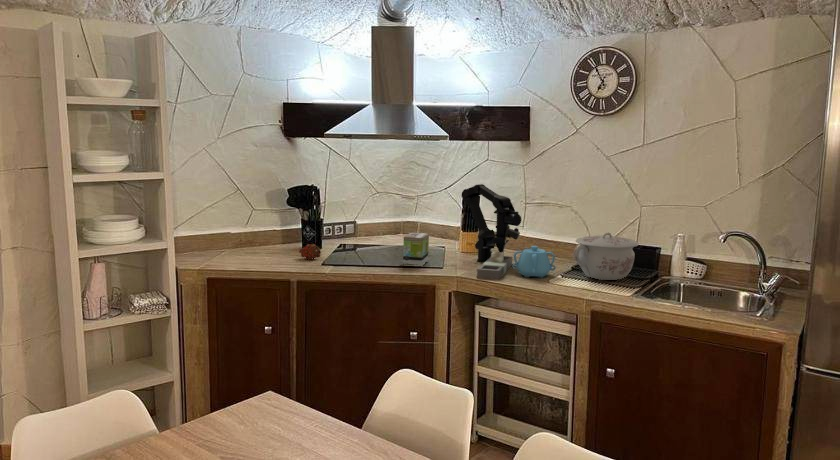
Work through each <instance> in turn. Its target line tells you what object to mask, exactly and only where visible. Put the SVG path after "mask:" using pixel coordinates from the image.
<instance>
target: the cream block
mask: <svg viewBox="0 0 840 460" xmlns="http://www.w3.org/2000/svg"><path fill="white" fill-rule="evenodd" d="M504 253H505V252H499V251H492V253H491V262H502V261H503V260H504V256H505V255H504Z"/></svg>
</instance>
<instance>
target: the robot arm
mask: <svg viewBox="0 0 840 460" xmlns="http://www.w3.org/2000/svg"><path fill="white" fill-rule="evenodd" d="M480 196H482V197H484V198H485V199H487V201H490V202H491V203H492V206H493V207H494V208H495V210H494V211H493V214H495V215H496V225H495V229H496V230H493V229H490V228H489V226H488V224H487V221H486V219H485V217H484V213H483V212H482V209H481V206H480V204H479V201H480ZM461 198H462V200H463V201H464V203H465V204H466V205H467V206H468V207H469V210H470V212H471V214H472V218H473V220H474V222H475V226H476V228H477V231H478V235H477V242H476V243H474V248H475V250H477V260H476V262H483V263H485V262H486V261H487V260H488V259H489V258H490V257H491V253H492V252H493V251H492V250H493V249H495V246H496V247H497V250H498V252H504V251H505V248H506V245H507V244H508V242H509V241H510V240H509V239H511V238H513V239H514V240H516V241H517V240H518V239H519V237H520V234H521V232H520V231H519V228H517V227H518V226H520V225H521V223H522V216H521V215H520V214H519V211H517V210H515V207H514V206H513V203H512V200H511V198H510V197H508V196H505V195H500V194H498V193H496V192H495V191H493V190H492V189H490V188H489V187H487V186H486V185H485V184H483V183H480V184H475V185H473V186H471V187H469V188H465V189H463V190H462V192H461ZM511 226H515V228H514V229H513V228H511ZM495 231H496V233H495ZM507 238H508V239H507ZM504 253H505V252H504Z"/></svg>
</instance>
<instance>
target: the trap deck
mask: <svg viewBox="0 0 840 460" xmlns="http://www.w3.org/2000/svg"><path fill="white" fill-rule="evenodd" d="M512 265H513V256H507V255H506V256H505V255H504V260H503V261H502V262H491V257H490V258H489V259H488V260H487V261H486V262H483V263H482V264H481V265H480V266H479V267H478V268H477V269H476V278H477V279H485V280H497V281H498V280H500V279H501V278H502V277H503V276H504V275H505V274H506V273H507V272H508V270H509V269H510V268H511V267H512Z"/></svg>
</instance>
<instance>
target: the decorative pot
mask: <svg viewBox="0 0 840 460" xmlns="http://www.w3.org/2000/svg"><path fill="white" fill-rule="evenodd" d="M517 254H520V256H519V257H518V260H517ZM548 255H551V256H552V260H551V261H550V258H549V256H548ZM513 260H514V262H515V263H512V266H511V267H512V269H514V270H518V272H519V274H520V275H522V276H523V277H524V278H529V277H537V278H539V279H542V278H543V279H544V277H546V276H548V275H549V273H550V271H551V272H553V271H555V270H556V266H555V264H554V262H555V260H556V255H555V254H554V253H553V252H552V251H546V250H545V249H543V248H539V246H537V245H531V246H530V248H525V249H523V250H517V251H515V252H514V253H513ZM552 267H553V268H552Z"/></svg>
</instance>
